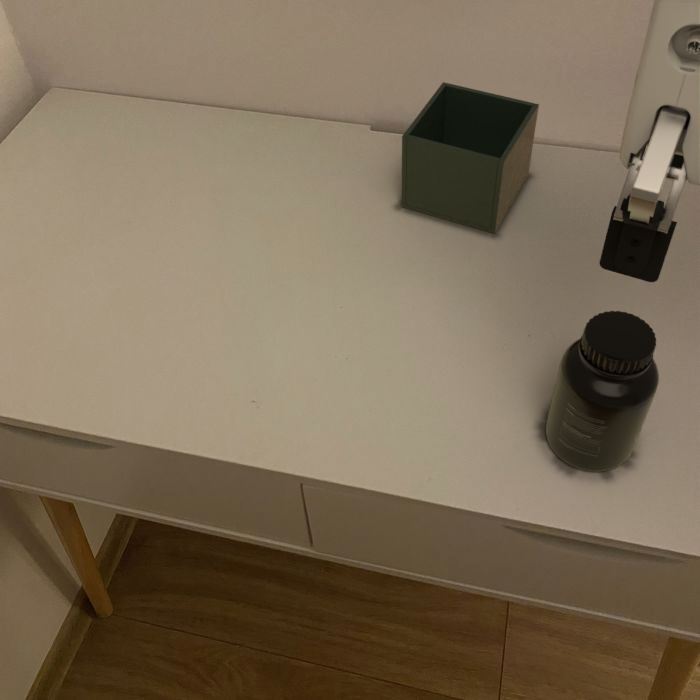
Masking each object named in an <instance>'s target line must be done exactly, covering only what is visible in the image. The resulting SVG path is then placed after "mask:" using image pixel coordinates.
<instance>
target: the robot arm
mask: <svg viewBox="0 0 700 700" xmlns="http://www.w3.org/2000/svg"><path fill="white" fill-rule="evenodd" d="M637 65H638V66H637V70H636V74H635V79H634V82H633V87H632V91H631V96H630V101H629V105H628V110H627V114H626V119H625V123H624V129H623V134H622V138H621V143H620V150H619V161H620V162H621V164H622V166H623V167H624V168H625V169H626V170H627V174H626V177H625V180H624V183H623V187H622V189H621V192H620V196H619V198H618V201H617V204H616V205H614V207H613V209H612V211H611V214H610V219H609V222H608V227H607V231H606V234H605V239H604V243H603V247H602V251H601V255H600V259H599V262H598V263H599V266H600V268H601V269H603V270H606V271H609V272H612V273H616V274H620V275H623V276H627V277H629V278H634V279H637V280H641V281H644V282H647V283H656V282H657V281H658V280H659V279H660V278H659V277H660V276H661V273H662V269H663V267H664V263H665V260H666V257H667V254H668V252H669V248H670V245H671V242H672V239H673V235H674V234H675V230H676V227H677V224H678V221H675V220H673V218H674V216H675V213H676V210H677V208H678V205H679V202H680V199H681V196H682V193H683V191H684V187H685V184H686V182H687V181H688V183H689V184H690V185H696V186H700V0H654V1H653V4H652V9H651V12H650V16H649V21H648V24H647V29H646V33H645V37H644V41H643V45H642V49H641V53H640V58H639V61H638V64H637ZM666 180H669V181H673V182H672V184H671V188H670V191H669V193H668V196H667V200H666V201H663V200H660V199H661V196H662V194H663V189H664V186H665V183H666Z"/></svg>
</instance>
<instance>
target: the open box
mask: <svg viewBox="0 0 700 700" xmlns="http://www.w3.org/2000/svg"><path fill="white" fill-rule="evenodd" d="M539 107H540V103H534V102H530V101H526V100H522V99H519V98H513V97H509V96H505V95H500V94H496V93H491V92H487V91H483V90H479V89H475V88H470V87H467V86H462V85H458V84H453V83H449V82H445V81H443V82H442V83H440V85H439V87H438V88H437V89H436V91H435V92H434V93H433V95H432V96H431V97H430V98H429V100H428V101H427V103H426V104H425V105H424V106H423V108H422V109H421V110H420V112H419V113H418V115H417V116H416V117H415V118H414V120H413V121H412V122H411V124H410V125H409V126H408V128H407V129H406V131H405V132H403V135H402V136H401V201H400V202H401V205H400V206H401V207H402V208H404V209H407V210H412V211H414V212H418V213H422V214H425V215H428V216H432V217H434V218H435V217H436V218H439V219H442V220H445V221H450V222H453V223H456V224H460V225H463V226H467V227H469V228H474V229H477V230H481V231H484V232H487V233H491V234H494V235H495V234H496V232H497V231H498V229H499V227H500V225H501V224H502V223H503V220H504V218H505V216H506V215H507V213H508V211H509V210H510V208H511V206H512V205H513V202H514V201H515V199H516V197H517V195H518V194H519V192H520V190H521V189H522V187H523V185H524V183H525V181H526V180H527V178H528V176H529V171H530V166H531V158H532V154H533V146H534V139H535V134H536V133H535V132H536V126H537V120H538V115H539V114H538V113H539Z"/></svg>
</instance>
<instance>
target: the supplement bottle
mask: <svg viewBox="0 0 700 700" xmlns="http://www.w3.org/2000/svg"><path fill="white" fill-rule="evenodd" d="M582 331H583V332H582V334H581V337H580V338H578V339H577V340H575V341H573V342H572V343H570V345H569V346H568V347H567V348H566V350H565V351H564V353H563V354H562V357H561V361H560V362H559V363H560V364H559V368H558V371H557V377H556V381H555V384H554V388H553V393H552V398H551V402H550V406H549V410H548V414H547V418H546V419H547V420H546V424H545V434H546V439H547V442H548V444H549V446H550V448H551V450H552V451H553V452H554V453H555V454H556V456H558V458H560V459H561V460H562V461H563V462H564V463H566V464H568V465H569V466H571V467H574V468H576V469H579V470H583V471H586V472H605V471H609V470H613V469H616V468H617V467H620V466H621V465H622V464H624V463H625V462H626V461H627V460H628V459H629V458H630V457H631V455H632V454H633V451H634V449H635V447H636V444H637V443H638V439H639V437H640V434H641V432H642V429H643V427H644V424H645V421H646V419H647V416H648V414H649V411H650V408H651V406H652V404H653V400H654V398H655V395H656V393H657V390H658V387H659V382H660V373H659V368H658V365H657V363H656V360H655V358H654V353H655V350H656V348H657V337H656V333H655V332H654V329H653V327H651V326H650V324H649V323H647V322H646V321H645V320H644V319H642V318H641V317H640V316H637V315H634V314H633V313H628V312H627V311H620V310H616V311H615V310H610V311H604V312H599V313H598V314H595V315H594V316H593V317H592V318H589V320H588V322H587V323H585V327H584V329H583V330H582Z"/></svg>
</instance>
